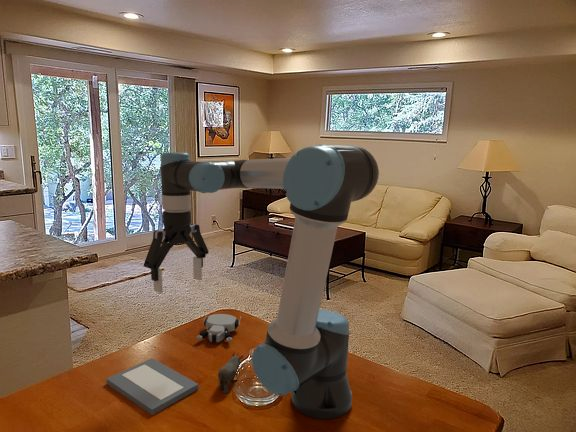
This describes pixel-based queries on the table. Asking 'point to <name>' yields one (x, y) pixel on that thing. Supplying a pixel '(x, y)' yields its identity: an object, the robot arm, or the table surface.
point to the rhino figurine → (228, 372)
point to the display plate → (152, 385)
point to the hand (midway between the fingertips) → (178, 285)
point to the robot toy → (219, 327)
